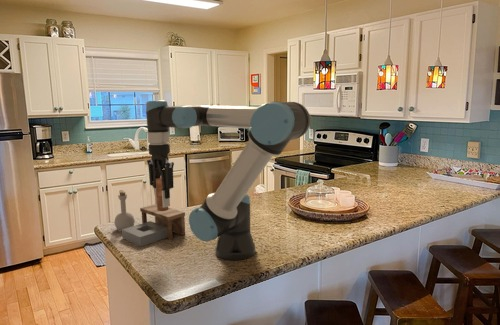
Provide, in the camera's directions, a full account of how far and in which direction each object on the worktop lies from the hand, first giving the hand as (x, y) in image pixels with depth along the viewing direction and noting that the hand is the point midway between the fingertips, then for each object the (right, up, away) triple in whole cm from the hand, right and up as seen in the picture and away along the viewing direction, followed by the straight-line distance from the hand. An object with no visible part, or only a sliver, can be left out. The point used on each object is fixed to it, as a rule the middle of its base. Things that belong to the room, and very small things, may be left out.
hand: (162, 205), depth 137 cm
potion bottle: (-24, -14, +30) cm, 41 cm away
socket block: (-11, -16, +18) cm, 27 cm away
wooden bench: (-6, -15, +25) cm, 29 cm away
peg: (0, -2, 0) cm, 2 cm away
